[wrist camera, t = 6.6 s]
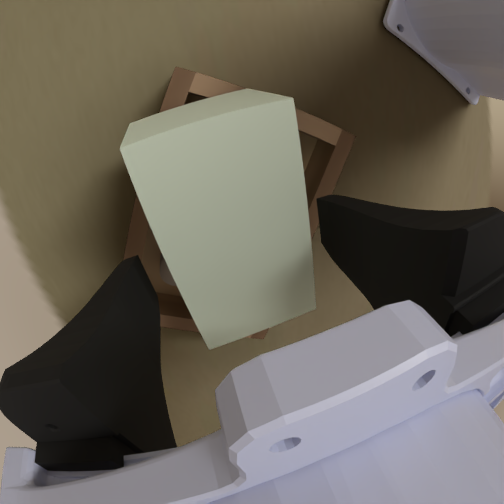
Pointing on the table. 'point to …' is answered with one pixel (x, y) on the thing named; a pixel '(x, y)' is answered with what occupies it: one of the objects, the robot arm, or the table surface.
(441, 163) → the table surface
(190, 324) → the wooden tray
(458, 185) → the table surface
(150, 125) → the pale green block
